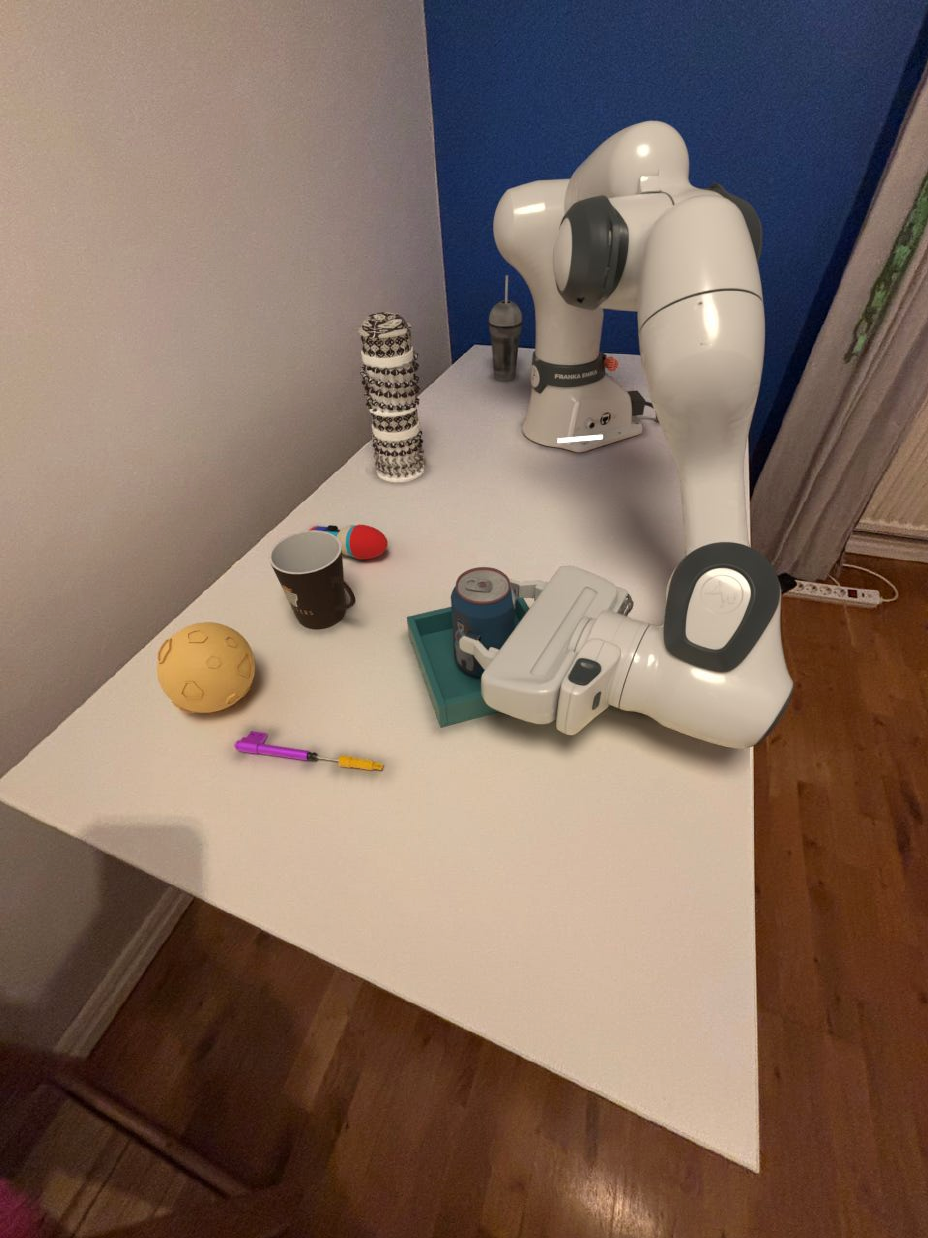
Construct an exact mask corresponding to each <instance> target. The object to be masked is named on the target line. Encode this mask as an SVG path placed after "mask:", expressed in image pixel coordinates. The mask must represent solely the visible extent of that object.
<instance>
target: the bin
mask: <svg viewBox="0 0 928 1238" xmlns="http://www.w3.org/2000/svg"><path fill="white" fill-rule="evenodd" d="M529 609H530V607H529V605H528V603H527V601H526V600H525V598H518V599H517V600H516V603H515V628H516V627H517V625H518V624H519V622H520V621H521V620H522V618H523V617H524V615H525V614H526V613H527V611H528V610H529ZM406 623H407V631H408V637H409V641H410V643H411V646H412V649H413V653H414V655H415V659H416V661H417V663H418V667H419V668H420V672H421V675H422V678H423V681H424V684H425V687H426V690H427V693H428V696H429V698H430V702H431V705H432V707H433V710H434V714H435V716H436V719H437V721H438V725H439V727H440V728H445V727H449V726H452V725H456V724H460V723H464V722H467V721H470V720H474V719H478V718H481V717H485V716H490V715H492V714H496V713H501V712H500V711H498V710H495V709H493V708H491V707H490V706H488V705H487V704H486V702H485V701H484V699H483V697H482V694H481V679H477V678H474V677H471V676H469V675H468V674H467V673H465V672H464V671H463V670H462V669H461V668H460V667H459V666H458V665H457V663H456V661H455V657H454V643H453V626H452V609H451V606H448V607H444V608H439V609H435V610H430V611H427V612H422V613H417V614H413V615H408V616H406Z"/></svg>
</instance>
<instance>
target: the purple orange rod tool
mask: <svg viewBox="0 0 928 1238" xmlns="http://www.w3.org/2000/svg"><path fill="white" fill-rule="evenodd" d="M267 738H268V734H267V732H262V731H261V732H260V731H254V730H251V731H249V733H248V734H247V735H246V736H243V737H242V738H241V739H239V740H237V741H235V742H234V749H235V750H236V751H238V752H243V753H248V754H249V753H250V754H255V755H259V754H262V755H268V756H274V757H281V758H286V759H287V758H289V759H295V760H300V761H313V762H314V761H317V760H318V759H322V760H326V761H327V760H328V761H333V762H338V763H337V764H338V767H341V768H342V767H343V768H348V769H351V768H353V769H362V770H367V771H373V770H379V771H382V769H383V767H384V763H380V762H375V760H372V759H366V758H359V757H353V756H351V755H345V754H341V755H340V756H339V758H333V757H326V756H321V755H319V754H318V752H315V751H314V752H312V751H310V750H307V749H300V748H293V747H287V746H281V745H280V746H279V745H274V744H268V743H264V742H265V741H266V739H267Z"/></svg>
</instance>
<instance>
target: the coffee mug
mask: <svg viewBox="0 0 928 1238" xmlns="http://www.w3.org/2000/svg"><path fill="white" fill-rule="evenodd" d="M343 559H344V558H343V554H342V545H341V542H340V540H339V539H338V538H337V537H336V536H334V535H333V534H331V533H328V532H324V531H317V530H310V529H308V530H302V531H298V532H295V533H292V534H288V535H286V536H285V537H283V538H281V539H280V540H279V541H277V542H276V543H274V545H273V546H272V547H271V549H270V551H269V554H268V560H269V563H270V566H271V568H272V569H273V572H274V574H275V576H276V578H277V580H278V582H279V584H280V586H281V588H282V590H283V592H284V595H285V597H286V599H287V601H288V603H289V605H290V607H291V609H292V611H293V614H294V615H295V617H296V619H297V621H298V623H299V624H300V625H301V626H302V627H304V628H306V629H310V630H324V629H328V628H330V627H333V626H335V625H336V624H338V623H339V622H340V621H342V620H343V619H344V617H345V615H346V613H347V610H349V609H350V608H352V607H353V606H355V604H356V597H355V596H356V595H355V594H354V591H353V589H352V588H351V587H350V585H349V584H348V582H346V581H345V574H344V562H343V561H344V560H343ZM346 592H347V594H348V597H349V600H350V601H349V603H348V604H347V603H346Z"/></svg>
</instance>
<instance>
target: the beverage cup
mask: <svg viewBox="0 0 928 1238" xmlns="http://www.w3.org/2000/svg"><path fill="white" fill-rule="evenodd" d="M504 283H505V284H504V285H505V287H504V289H505V290H504V300H501V301H498V302H497V303H496V304H494V305H493V307H492V308H491V310H490V313H489V316H488V320H487V321H488V322H487V323H488V327H489V333H490V339H491V353H492V365H493V366H492V368H493V375H494V380H497V381H498V382H511V381H513V380H514V379H515V378H516V377H515V376H516V371H517V361H518V354H519V346H520V345H519V344H520V336H521V333H522V329H523V327H522V326H523V323H524V322H523V315H522V311H521V309H520V307H519V306H518V305H517V304H516V303H515V302H513V301H511V300H509V299H508V295H509V293H508V292H509V275H508V274H507V275H505V281H504Z"/></svg>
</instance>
